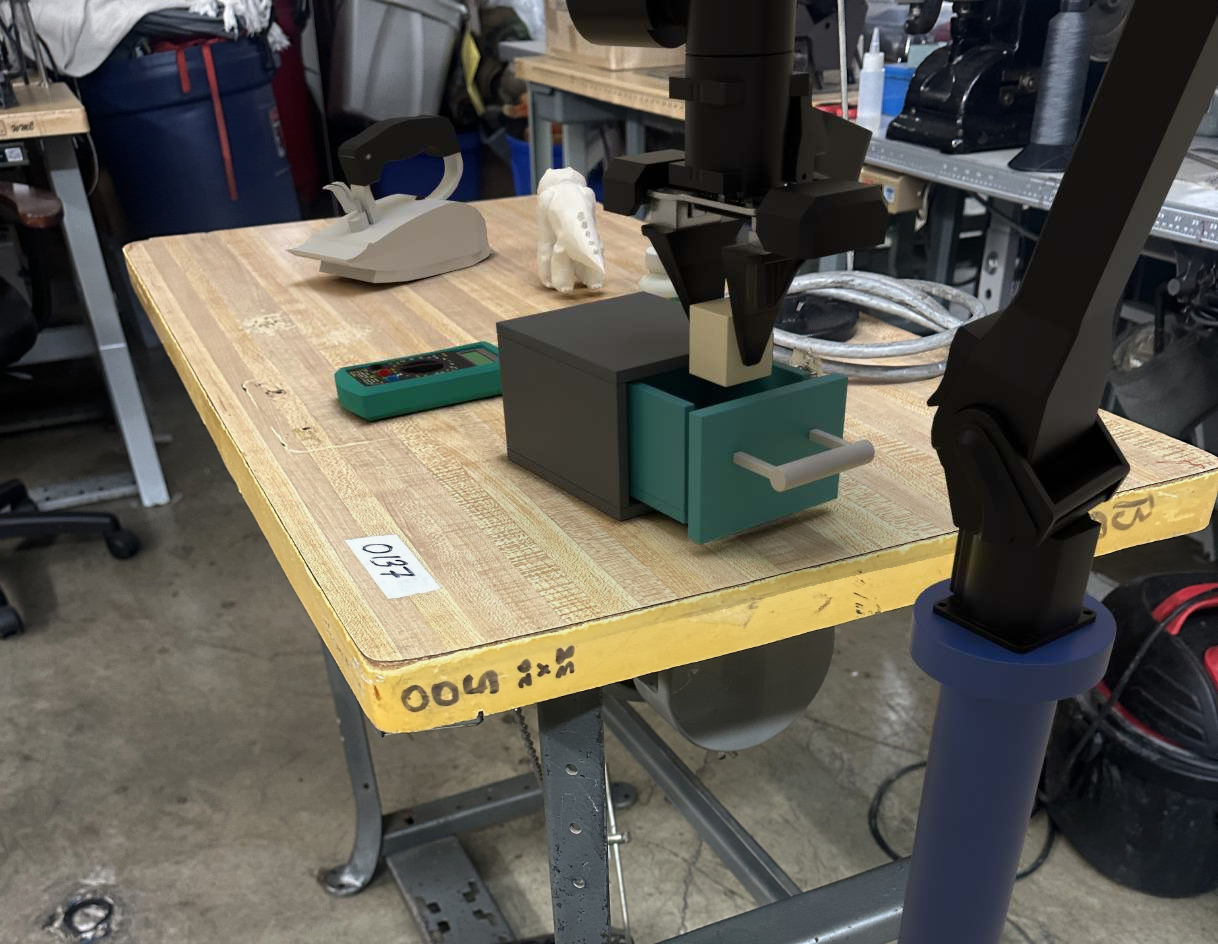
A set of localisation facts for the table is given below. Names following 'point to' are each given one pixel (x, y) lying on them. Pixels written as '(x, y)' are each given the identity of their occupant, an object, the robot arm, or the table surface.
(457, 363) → the digital multimeter
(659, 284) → the supplement bottle
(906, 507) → the table surface
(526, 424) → the drawer cabinet
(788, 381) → the teal drawer
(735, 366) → the block
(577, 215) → the toy dinosaur
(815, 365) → the small metal piece
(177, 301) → the table surface
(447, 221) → the iron
